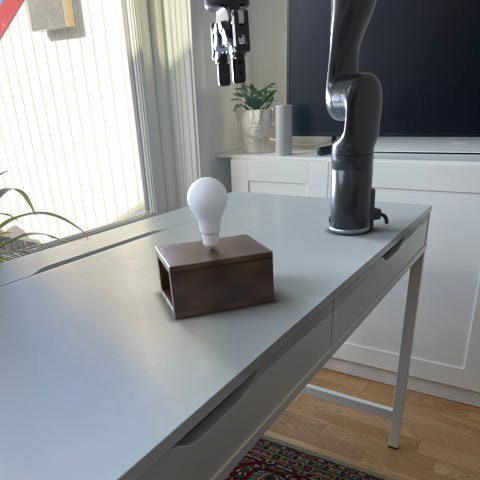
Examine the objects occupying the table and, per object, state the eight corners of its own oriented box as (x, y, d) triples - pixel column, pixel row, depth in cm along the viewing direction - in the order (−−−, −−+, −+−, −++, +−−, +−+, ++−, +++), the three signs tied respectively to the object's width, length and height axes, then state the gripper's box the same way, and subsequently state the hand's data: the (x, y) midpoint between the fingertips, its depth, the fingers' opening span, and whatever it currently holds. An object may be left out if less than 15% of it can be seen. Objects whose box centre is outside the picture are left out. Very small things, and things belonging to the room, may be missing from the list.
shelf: (248, 278, 86) (246, 234, 83) (274, 301, 76) (272, 251, 73) (161, 293, 82) (155, 246, 79) (175, 319, 72) (169, 267, 68)
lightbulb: (192, 245, 78) (185, 175, 74) (229, 242, 79) (225, 173, 74) (192, 255, 73) (184, 181, 68) (232, 252, 73) (227, 178, 69)
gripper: (262, -37, 73) (265, 81, 80) (233, -15, 86) (238, 85, 92) (215, -37, 71) (223, 83, 78) (192, -15, 84) (201, 87, 90)
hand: (231, 84), depth 85 cm, fingers open, 8 cm apart
